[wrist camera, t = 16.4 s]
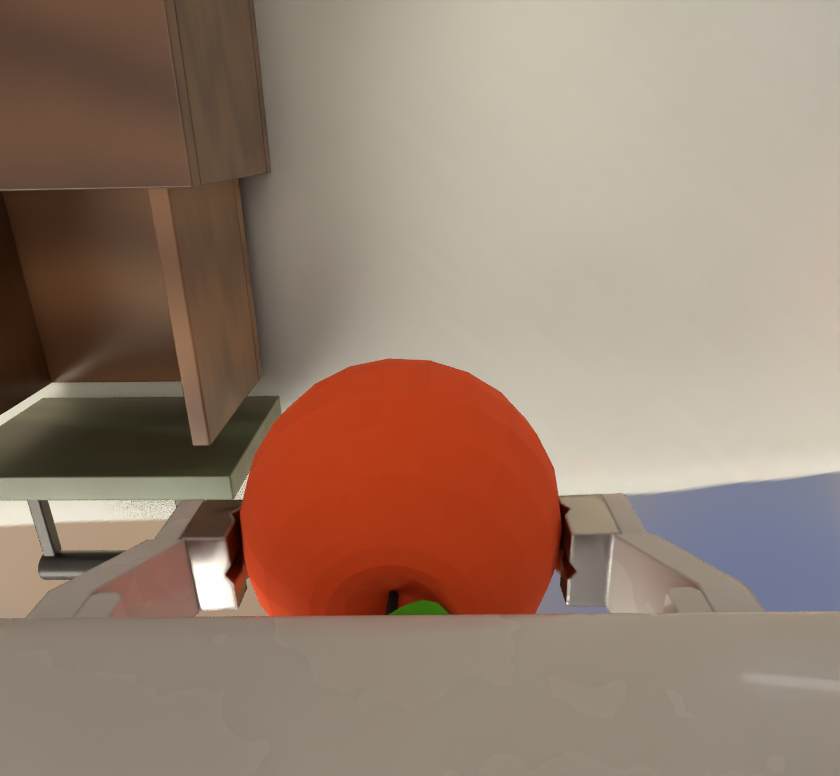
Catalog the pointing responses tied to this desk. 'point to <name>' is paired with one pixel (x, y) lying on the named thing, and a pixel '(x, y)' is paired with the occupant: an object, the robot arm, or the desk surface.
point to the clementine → (401, 499)
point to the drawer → (126, 351)
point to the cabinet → (129, 94)
